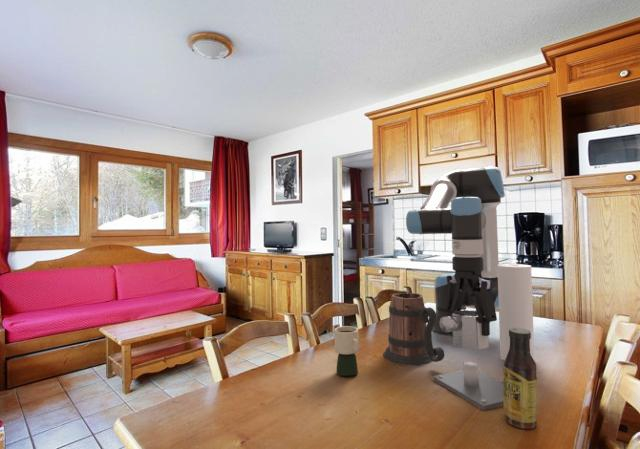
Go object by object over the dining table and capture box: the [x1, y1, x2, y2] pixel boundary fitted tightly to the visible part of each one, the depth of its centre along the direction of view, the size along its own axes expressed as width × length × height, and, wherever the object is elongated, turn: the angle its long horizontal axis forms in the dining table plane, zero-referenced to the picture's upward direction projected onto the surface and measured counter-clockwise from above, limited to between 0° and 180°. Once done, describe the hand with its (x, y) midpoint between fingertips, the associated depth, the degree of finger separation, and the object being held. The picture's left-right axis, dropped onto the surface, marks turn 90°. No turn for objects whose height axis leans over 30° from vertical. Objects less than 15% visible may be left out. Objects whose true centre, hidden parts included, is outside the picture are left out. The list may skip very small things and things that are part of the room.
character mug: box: [333, 325, 360, 377], centre depth 102 cm, size 11×7×13 cm, turn 30°
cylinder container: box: [497, 263, 535, 361], centre depth 111 cm, size 9×9×30 cm
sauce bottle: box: [502, 328, 538, 430], centre depth 74 cm, size 6×6×20 cm
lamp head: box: [440, 309, 485, 350], centre depth 91 cm, size 12×8×8 cm, turn 110°
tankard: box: [382, 292, 445, 367], centre depth 113 cm, size 24×17×20 cm
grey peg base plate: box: [432, 361, 504, 411], centre depth 91 cm, size 18×14×6 cm
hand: (470, 343), depth 91 cm, fingers closed on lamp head, 8 cm apart
